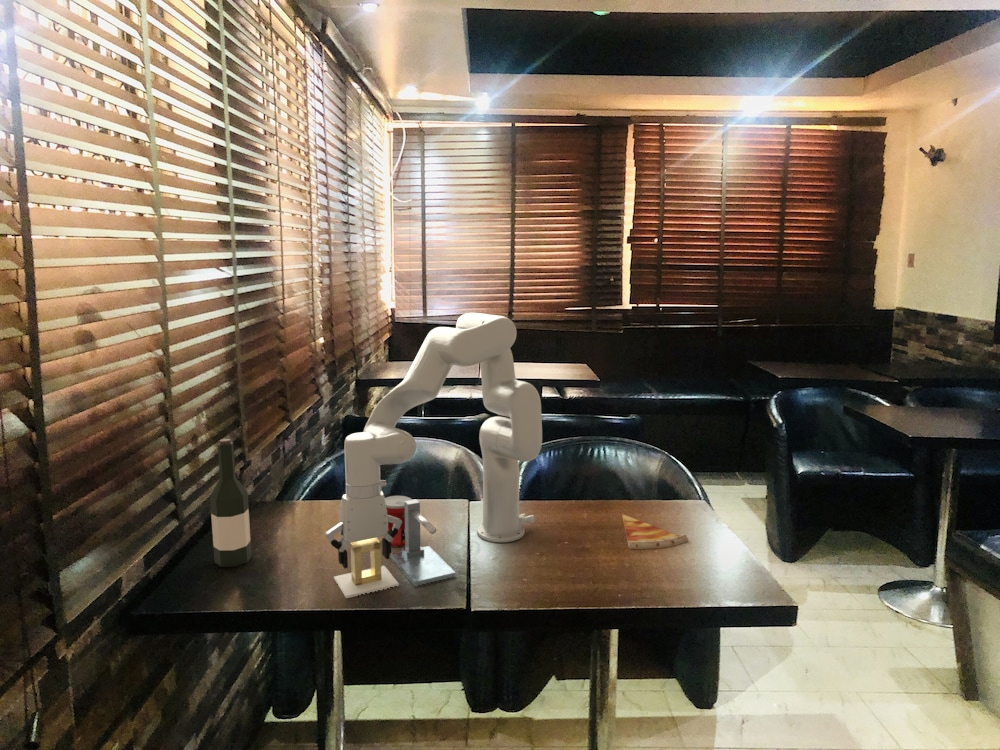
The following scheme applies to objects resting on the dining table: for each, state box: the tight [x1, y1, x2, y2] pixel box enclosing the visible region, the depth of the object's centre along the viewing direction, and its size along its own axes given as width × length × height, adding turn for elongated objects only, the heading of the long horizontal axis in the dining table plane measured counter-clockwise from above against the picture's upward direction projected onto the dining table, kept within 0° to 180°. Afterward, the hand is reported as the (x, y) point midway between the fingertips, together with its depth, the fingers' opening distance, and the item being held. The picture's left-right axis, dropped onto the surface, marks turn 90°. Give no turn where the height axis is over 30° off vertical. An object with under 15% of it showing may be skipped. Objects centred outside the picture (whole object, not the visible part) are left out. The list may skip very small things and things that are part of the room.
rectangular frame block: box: [349, 537, 382, 586], centre depth 153 cm, size 6×3×9 cm, turn 118°
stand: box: [390, 499, 456, 587], centre depth 160 cm, size 10×16×14 cm, turn 28°
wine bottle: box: [209, 438, 252, 568], centre depth 162 cm, size 8×8×30 cm
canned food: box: [381, 495, 413, 547], centre depth 175 cm, size 8×8×11 cm
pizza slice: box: [621, 514, 689, 550], centre depth 183 cm, size 16×22×2 cm
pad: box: [333, 565, 400, 599], centre depth 154 cm, size 12×10×1 cm
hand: (365, 561), depth 153 cm, fingers open, 9 cm apart
